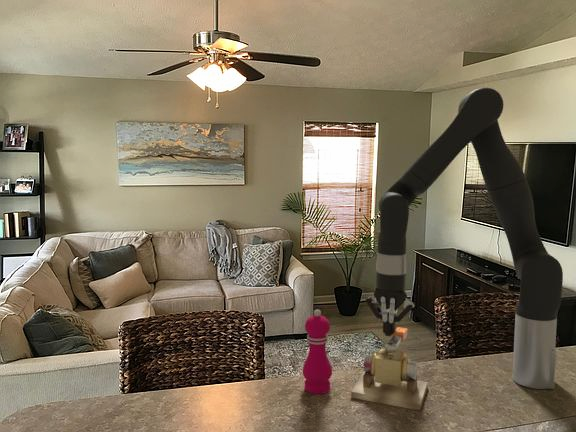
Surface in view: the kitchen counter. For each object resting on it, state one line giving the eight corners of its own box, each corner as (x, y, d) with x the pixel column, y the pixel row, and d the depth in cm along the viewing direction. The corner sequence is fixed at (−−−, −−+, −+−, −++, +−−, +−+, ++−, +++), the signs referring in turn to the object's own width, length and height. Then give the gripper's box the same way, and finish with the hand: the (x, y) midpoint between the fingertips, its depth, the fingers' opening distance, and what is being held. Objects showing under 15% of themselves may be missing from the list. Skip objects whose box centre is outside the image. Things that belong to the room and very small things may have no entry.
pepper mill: (332, 382, 126) (332, 305, 124) (331, 395, 119) (332, 314, 117) (303, 381, 127) (303, 305, 125) (301, 394, 120) (301, 313, 117)
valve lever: (407, 335, 130) (407, 328, 130) (395, 354, 117) (395, 346, 117) (397, 333, 131) (397, 327, 131) (383, 352, 119) (383, 345, 118)
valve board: (427, 387, 123) (427, 370, 122) (420, 410, 112) (420, 391, 111) (363, 377, 129) (363, 360, 129) (351, 397, 118) (351, 379, 118)
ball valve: (417, 377, 121) (418, 350, 120) (413, 388, 115) (414, 360, 114) (368, 369, 125) (369, 343, 125) (362, 380, 119) (362, 353, 119)
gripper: (420, 270, 128) (417, 335, 130) (371, 264, 134) (369, 326, 137) (413, 276, 122) (410, 344, 124) (361, 270, 128) (359, 335, 130)
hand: (388, 335), depth 130 cm, fingers closed
